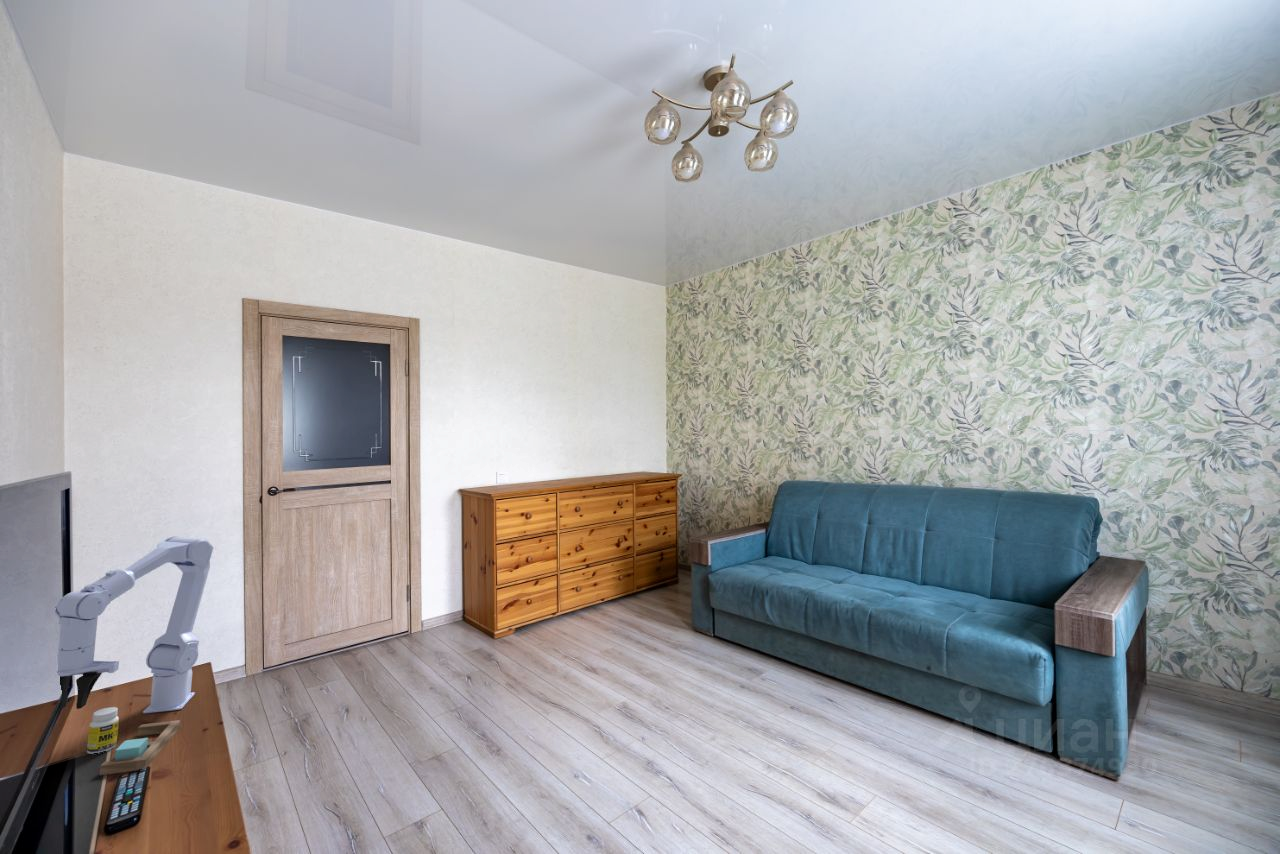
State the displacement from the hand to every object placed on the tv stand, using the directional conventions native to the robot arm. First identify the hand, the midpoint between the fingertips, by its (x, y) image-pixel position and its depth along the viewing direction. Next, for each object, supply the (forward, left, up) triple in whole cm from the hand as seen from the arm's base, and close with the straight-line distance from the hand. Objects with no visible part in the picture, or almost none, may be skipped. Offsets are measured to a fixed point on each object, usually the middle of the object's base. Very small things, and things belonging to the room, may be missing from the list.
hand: (71, 707), depth 119 cm
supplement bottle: (0, +6, -10) cm, 12 cm away
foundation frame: (+3, +14, -10) cm, 18 cm away
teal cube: (+8, +14, -10) cm, 19 cm away
